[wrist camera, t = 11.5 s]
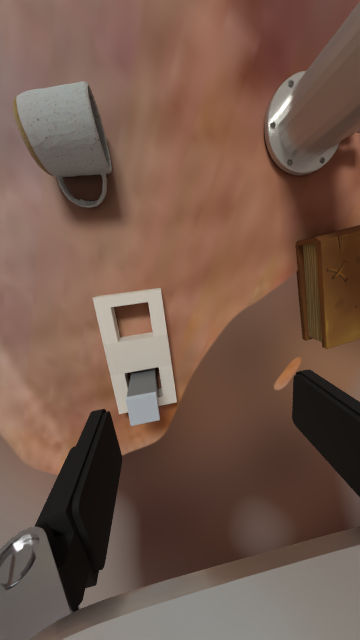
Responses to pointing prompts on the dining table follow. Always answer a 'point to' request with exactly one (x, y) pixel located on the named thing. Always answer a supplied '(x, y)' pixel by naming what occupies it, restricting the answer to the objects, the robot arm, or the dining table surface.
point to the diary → (330, 287)
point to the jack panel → (135, 344)
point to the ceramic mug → (64, 134)
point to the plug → (143, 397)
